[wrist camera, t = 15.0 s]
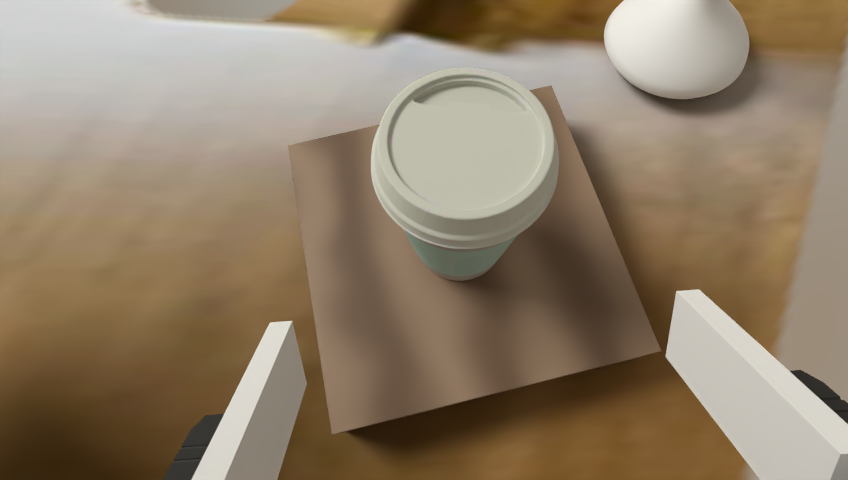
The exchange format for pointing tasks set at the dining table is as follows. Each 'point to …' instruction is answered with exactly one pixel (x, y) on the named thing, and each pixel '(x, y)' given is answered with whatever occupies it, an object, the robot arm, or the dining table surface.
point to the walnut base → (455, 292)
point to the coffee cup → (464, 167)
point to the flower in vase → (677, 45)
